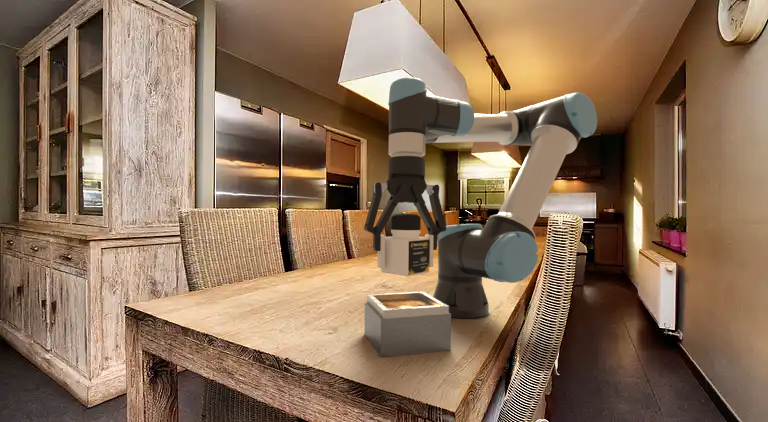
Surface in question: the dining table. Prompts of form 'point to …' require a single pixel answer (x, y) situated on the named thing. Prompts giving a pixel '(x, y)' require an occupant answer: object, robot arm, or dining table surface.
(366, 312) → the grey box
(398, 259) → the medicine bottle
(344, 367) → the dining table surface
